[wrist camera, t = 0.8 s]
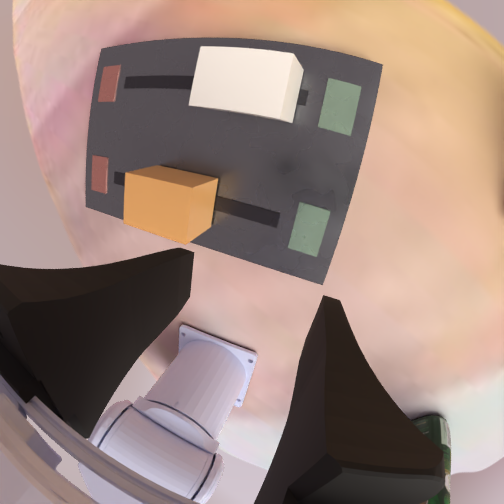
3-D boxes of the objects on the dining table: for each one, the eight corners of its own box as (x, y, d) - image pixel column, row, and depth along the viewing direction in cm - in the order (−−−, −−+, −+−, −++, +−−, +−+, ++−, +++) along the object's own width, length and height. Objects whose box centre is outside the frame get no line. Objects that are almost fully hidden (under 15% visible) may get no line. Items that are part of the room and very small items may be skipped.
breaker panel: (324, 275, 20) (322, 285, 19) (96, 202, 25) (85, 207, 23) (379, 70, 14) (382, 64, 12) (112, 51, 18) (100, 48, 17)
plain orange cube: (210, 227, 20) (185, 244, 17) (153, 209, 21) (123, 223, 18) (218, 178, 18) (192, 187, 15) (157, 165, 19) (125, 172, 16)
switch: (292, 123, 15) (279, 119, 12) (215, 109, 16) (188, 105, 13) (303, 69, 14) (293, 53, 11) (226, 60, 15) (200, 46, 12)
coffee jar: (386, 455, 27) (368, 575, 10) (364, 432, 26) (338, 576, 9) (453, 431, 22) (455, 559, 6) (442, 403, 21) (448, 561, 5)
